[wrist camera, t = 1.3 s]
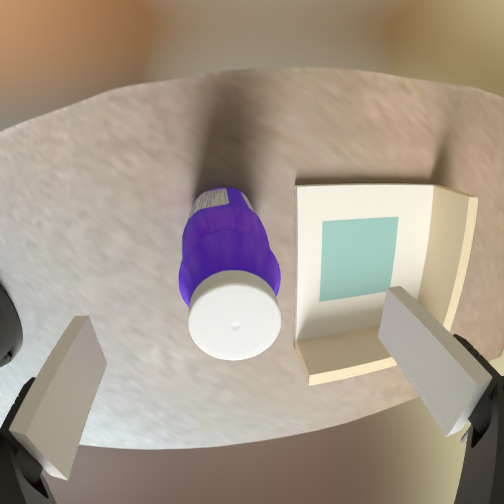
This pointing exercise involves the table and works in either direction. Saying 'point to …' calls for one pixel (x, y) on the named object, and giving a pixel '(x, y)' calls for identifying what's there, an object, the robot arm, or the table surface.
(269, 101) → the table surface
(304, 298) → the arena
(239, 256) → the bottle
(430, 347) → the robot arm
